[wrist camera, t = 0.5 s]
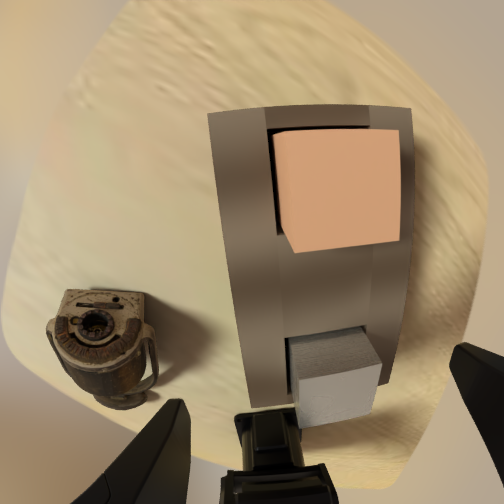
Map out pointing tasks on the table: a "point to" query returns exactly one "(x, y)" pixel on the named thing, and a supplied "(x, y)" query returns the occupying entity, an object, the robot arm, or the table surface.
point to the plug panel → (304, 263)
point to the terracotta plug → (337, 187)
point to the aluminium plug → (332, 375)
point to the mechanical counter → (105, 345)
